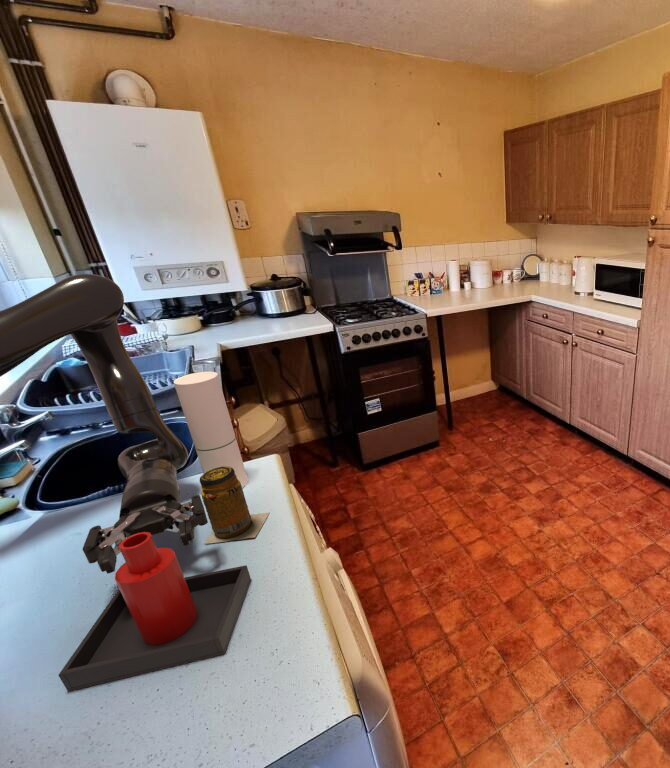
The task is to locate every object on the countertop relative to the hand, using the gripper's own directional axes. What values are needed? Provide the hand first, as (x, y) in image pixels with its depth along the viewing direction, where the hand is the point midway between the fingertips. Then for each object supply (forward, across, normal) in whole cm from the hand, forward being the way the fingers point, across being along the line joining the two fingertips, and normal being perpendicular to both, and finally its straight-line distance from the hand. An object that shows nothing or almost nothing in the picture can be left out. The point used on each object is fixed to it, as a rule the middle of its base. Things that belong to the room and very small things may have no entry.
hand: (148, 553), depth 61 cm
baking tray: (+5, 0, +10) cm, 11 cm away
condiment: (-14, +10, +10) cm, 20 cm away
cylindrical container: (-31, +10, +10) cm, 34 cm away
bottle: (+5, 0, +10) cm, 11 cm away
